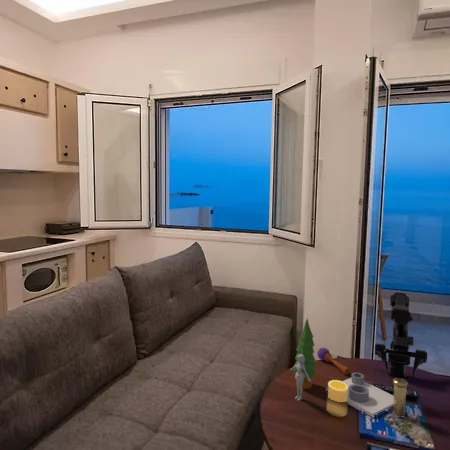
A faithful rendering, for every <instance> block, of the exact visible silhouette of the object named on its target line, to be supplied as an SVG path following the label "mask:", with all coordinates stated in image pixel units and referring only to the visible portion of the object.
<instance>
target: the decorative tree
mask: <svg viewBox="0 0 450 450" xmlns="http://www.w3.org/2000/svg"><path fill="white" fill-rule="evenodd" d="M313 339H314V334H313V332H312V330H311V327H310V323H309V319H308V317H307V318H306V320H305V323H304V326H303V329H302V332H301V335H300V338H299V340H298V346H297V348H296V352H297V353H296V355H295V360H296V362H295V363H294V365H296V364H297V362H298V357H297V356H298V355H299V354H303V355H304V357H305V362H304V366H305V371H306V372H307V374H308V376H309V378H310V379H312V378H313V377H315V376H316V372H315V370H316V369H317V367H316V365H315V362H316V359H315V356H314V353H315V349H314V347H315V343H314V340H313ZM292 368H293V367H292ZM292 370H294V373H293V374H294V376H295V375H296V373H297V368H296V367H295V368H293V369H292ZM305 371H304V370H303V369H302V370H301V372H303V373H304V375H305V377H304V381H303V385H302V389H307V390H308V389H310V388H312V387H313V384H312V382H311V381H310V382H311V383H310V382H309V380H308V377H307V376H306V374H305ZM299 385H300V384H299Z"/></svg>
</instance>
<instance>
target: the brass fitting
mask: <svg viewBox="0 0 450 450" xmlns="http://www.w3.org/2000/svg"><path fill="white" fill-rule="evenodd" d="M392 383H393V396H394V400H393V408H392V414H393V413H394V414H395V415H397V416H405V417H406V402H407V401H406V400H407V399H406V397H407V387H408V384H409V383H408V381H407V380H406V379H405V378H403V379H402V378H395V377H393V378H392Z"/></svg>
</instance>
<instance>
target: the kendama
mask: <svg viewBox="0 0 450 450" xmlns="http://www.w3.org/2000/svg"><path fill="white" fill-rule="evenodd" d="M316 355H317V358H318V359H320V360H321V361H325V362H332V363H333V364H334V365H335V367H337V369H338V370H340V372H342V374H343V375H345V376H348V375H349V374H350V372H351V368H349V367H347V366H346V365H343V364H342V363H340V362H339V361H337V360H334V358H333V356H332V354H331V353H330V350H329V349H327V348H326V347H320V348H319V349H318V350H317V354H316ZM347 374H348V375H347Z"/></svg>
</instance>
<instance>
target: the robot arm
mask: <svg viewBox="0 0 450 450" xmlns="http://www.w3.org/2000/svg"><path fill="white" fill-rule="evenodd" d="M393 293H394V294H392V295H390V297H389V298H390V301H389V305H390V306H391V310H390V320H391V321H392V340H391V343H389V344H390V346H389V348H388V347H386V344H383V343H375V345H374V355H375V356H377V358H380V360H381V361H382V364H383V367H384V370H385V373H386V374H387V375H388V376H390V377H393V378H402V379H405V378H408V377H409V375H408V374H407V373H406V367H408V366H410V365H411V358H413V359H414V360H413V369H412V377H413V378H414V377H415V375H416V372H417V369H418V368H419V366H420V365H423V364H426V363H427V361H428V352H427V351H426V350H424V349H423V350H422V349H415V351H414V352H413V351H409V347H410V346H414V336H410V335H409V325H410V323H412V321H413V315H412V312H410V309H409V308H410V297H409V296H408V295H407V294H406V293H405V292H397V291H395V292H393ZM388 363H390V366H389V367H390V368H389V369H390V370H389V372H388Z"/></svg>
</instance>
